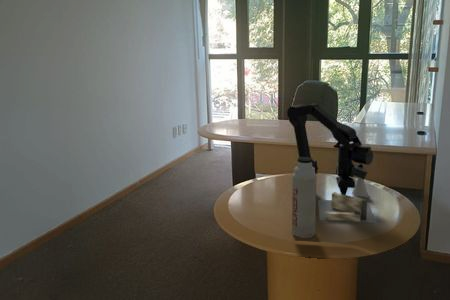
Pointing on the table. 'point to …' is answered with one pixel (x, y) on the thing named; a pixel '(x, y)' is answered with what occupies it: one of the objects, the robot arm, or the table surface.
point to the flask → (360, 188)
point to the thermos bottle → (304, 198)
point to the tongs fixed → (348, 214)
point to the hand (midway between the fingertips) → (343, 196)
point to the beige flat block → (346, 203)
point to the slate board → (326, 206)
